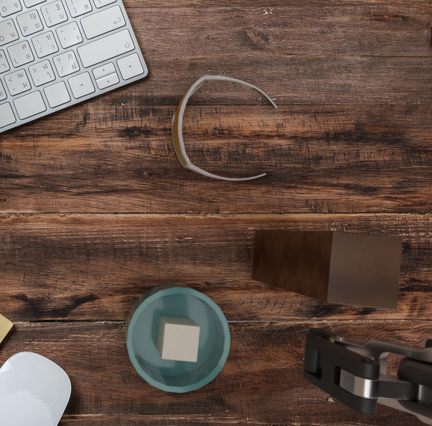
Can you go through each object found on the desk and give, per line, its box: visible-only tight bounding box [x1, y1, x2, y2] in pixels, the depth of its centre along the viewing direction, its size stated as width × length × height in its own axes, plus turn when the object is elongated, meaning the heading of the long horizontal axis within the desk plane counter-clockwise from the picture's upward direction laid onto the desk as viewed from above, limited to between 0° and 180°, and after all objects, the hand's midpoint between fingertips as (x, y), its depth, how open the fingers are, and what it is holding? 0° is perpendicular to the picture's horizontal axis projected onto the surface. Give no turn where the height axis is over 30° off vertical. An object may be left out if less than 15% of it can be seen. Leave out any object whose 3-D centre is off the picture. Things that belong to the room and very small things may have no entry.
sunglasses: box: [171, 74, 278, 182], centre depth 67 cm, size 14×15×5 cm
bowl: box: [123, 282, 232, 394], centre depth 65 cm, size 14×14×5 cm
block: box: [156, 315, 200, 362], centre depth 64 cm, size 4×4×6 cm
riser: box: [251, 229, 404, 311], centre depth 58 cm, size 7×7×22 cm
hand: (371, 347), depth 34 cm, fingers open, 8 cm apart
